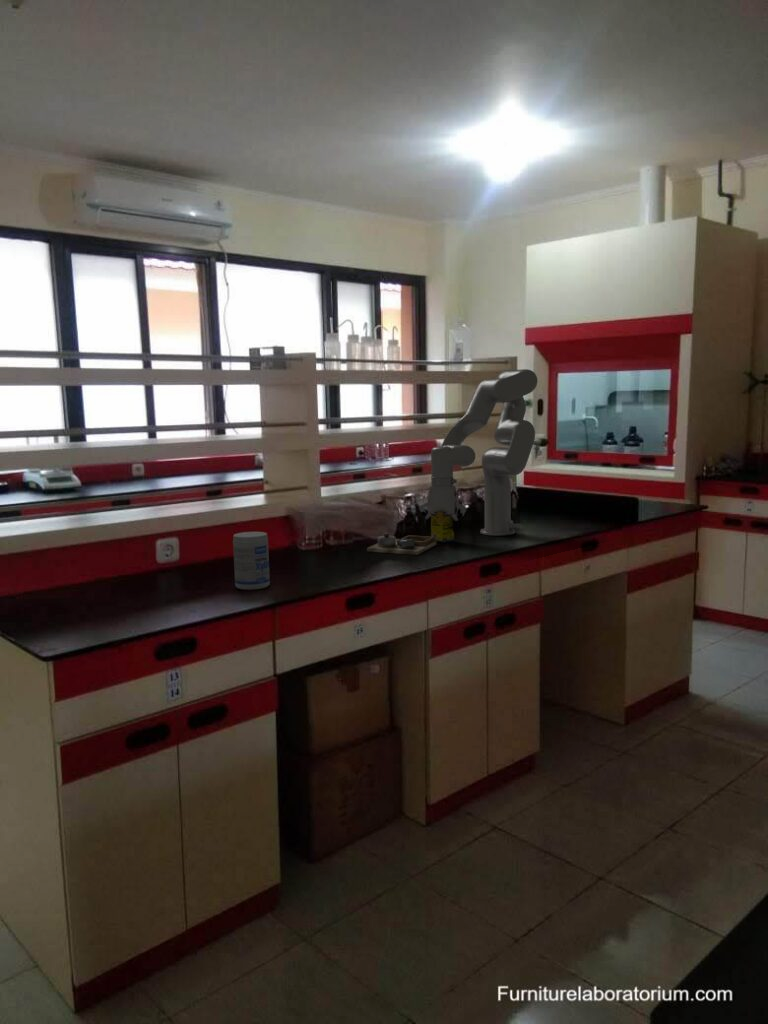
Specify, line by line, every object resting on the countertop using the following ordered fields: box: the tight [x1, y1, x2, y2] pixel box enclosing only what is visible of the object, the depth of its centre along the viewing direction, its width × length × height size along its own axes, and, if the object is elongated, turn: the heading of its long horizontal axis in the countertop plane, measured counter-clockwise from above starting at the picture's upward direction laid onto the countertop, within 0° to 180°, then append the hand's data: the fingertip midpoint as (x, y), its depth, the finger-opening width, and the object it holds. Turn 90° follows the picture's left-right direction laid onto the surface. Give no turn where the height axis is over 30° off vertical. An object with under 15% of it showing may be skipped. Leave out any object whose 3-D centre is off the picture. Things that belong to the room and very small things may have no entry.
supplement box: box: [430, 511, 455, 544], centre depth 274 cm, size 6×6×11 cm
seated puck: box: [399, 538, 415, 549], centre depth 259 cm, size 5×5×2 cm
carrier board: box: [366, 532, 437, 556], centre depth 264 cm, size 18×18×5 cm
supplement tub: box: [232, 531, 271, 591], centre depth 214 cm, size 10×10×15 cm
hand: (442, 530), depth 274 cm, fingers open, 9 cm apart
